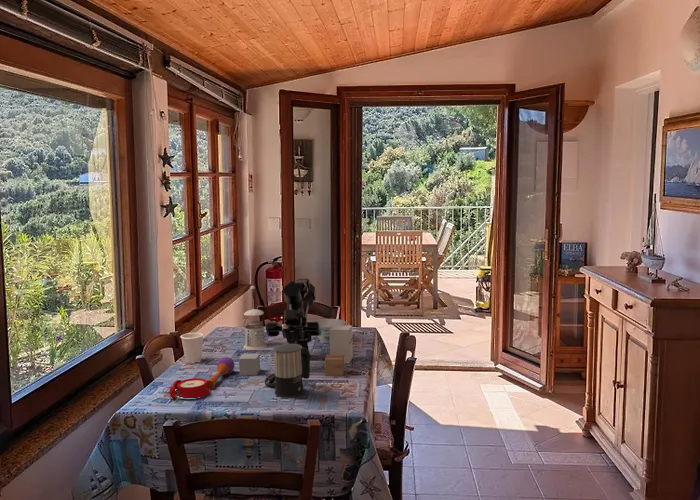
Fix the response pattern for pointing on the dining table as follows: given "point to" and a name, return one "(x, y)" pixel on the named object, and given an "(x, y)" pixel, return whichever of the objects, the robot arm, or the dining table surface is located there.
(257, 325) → the french press
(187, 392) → the alarm clock
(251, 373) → the beige block
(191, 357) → the dixie cup
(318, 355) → the dining table surface
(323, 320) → the chinaware
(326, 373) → the walnut block
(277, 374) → the milk frother
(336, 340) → the supplement box
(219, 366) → the kendama
